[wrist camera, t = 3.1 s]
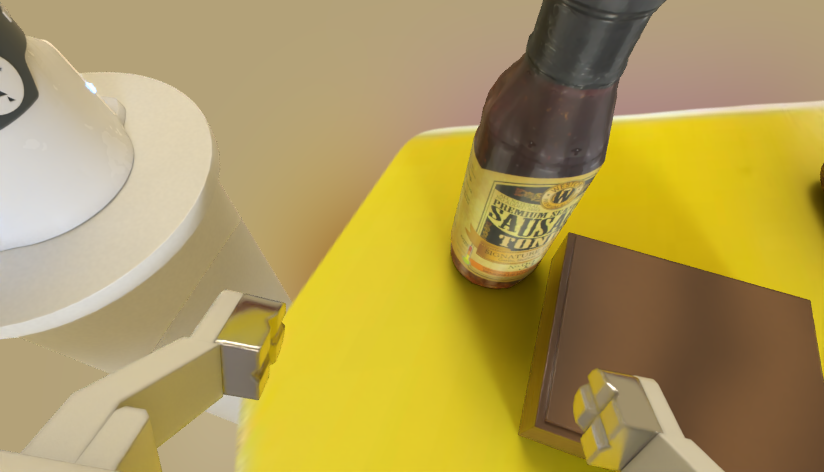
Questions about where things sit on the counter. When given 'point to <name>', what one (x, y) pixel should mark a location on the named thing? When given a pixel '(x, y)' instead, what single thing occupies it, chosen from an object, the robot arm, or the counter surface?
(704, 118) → the counter surface
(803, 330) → the walnut riser
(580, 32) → the sauce bottle
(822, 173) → the potato
